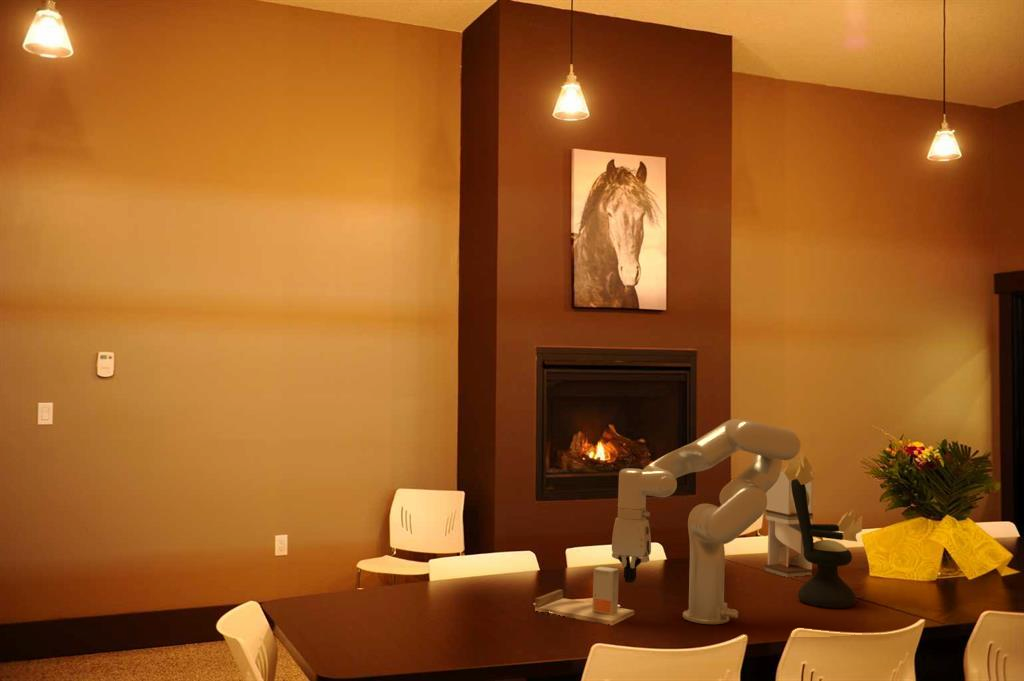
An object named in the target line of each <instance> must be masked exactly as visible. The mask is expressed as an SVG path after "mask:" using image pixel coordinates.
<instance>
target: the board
mask: <svg viewBox="0 0 1024 681" xmlns="http://www.w3.org/2000/svg"><path fill="white" fill-rule="evenodd" d="M592 608H593V602H588V601H581V600H577V599H576V600H575V599H569V598H564V590H563V589H557V590H554V591H551V592H549V593H546V594H544V595H540V596H538V597H535V599H534V612H536V611H538V612H537V613H541V612H549V611H550V612H553V613H556V614H557V615H556V616H558V615H560V617H563V616H565V617H564V618H570V619H574V618H575V620H581V621H587V622H593V623H597V622H598V623H597V624H603V625H608V624H609V625H608V626H615V625H616V624H619V623H620V622H623V621H624V620H626V619H628V618H631V617H632V616H634V615H635V610H634V609H628V608H622V607H618V611H617V612H616V613H614V614H613V615H609V614H604V613H598V612H593V611H592Z"/></svg>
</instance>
